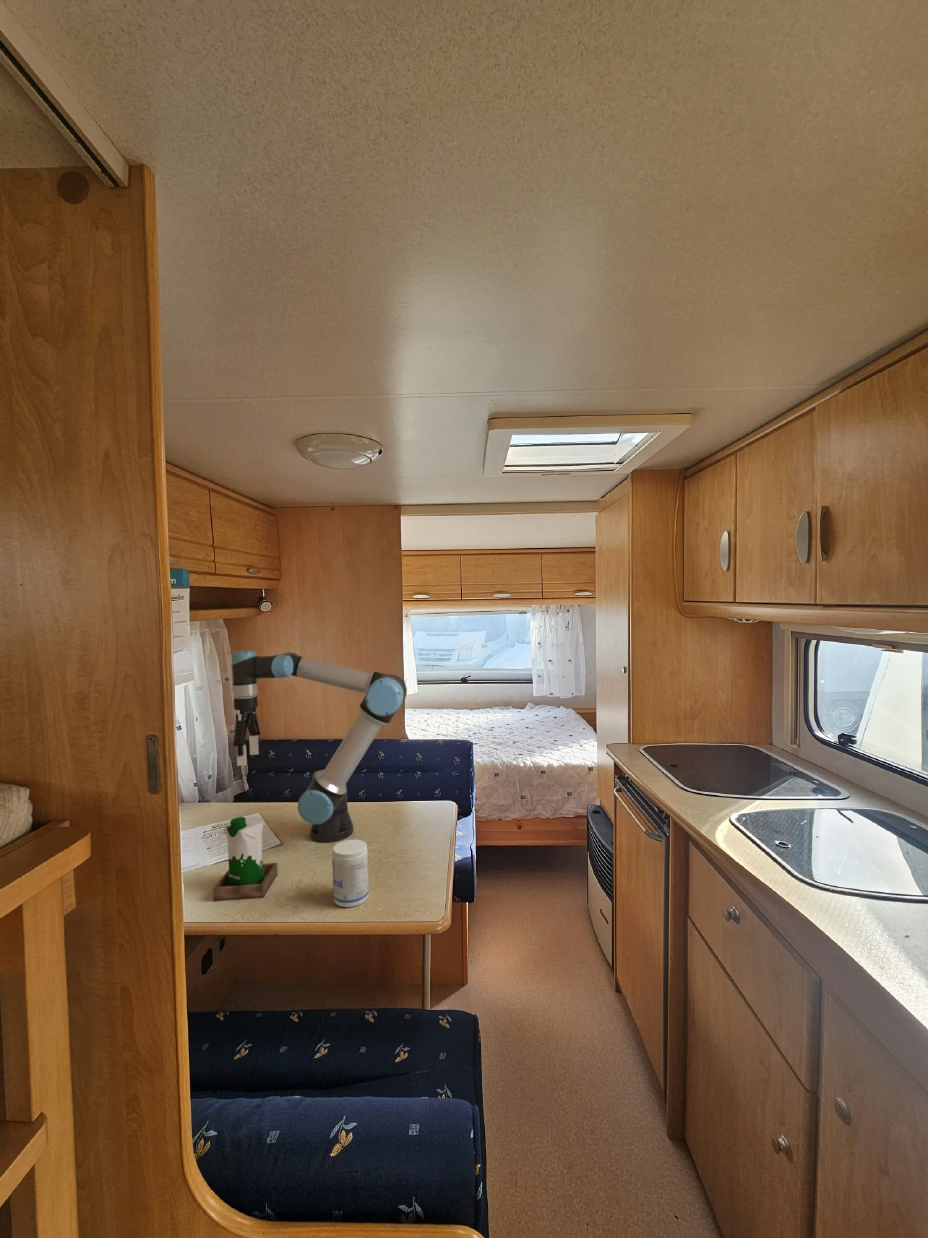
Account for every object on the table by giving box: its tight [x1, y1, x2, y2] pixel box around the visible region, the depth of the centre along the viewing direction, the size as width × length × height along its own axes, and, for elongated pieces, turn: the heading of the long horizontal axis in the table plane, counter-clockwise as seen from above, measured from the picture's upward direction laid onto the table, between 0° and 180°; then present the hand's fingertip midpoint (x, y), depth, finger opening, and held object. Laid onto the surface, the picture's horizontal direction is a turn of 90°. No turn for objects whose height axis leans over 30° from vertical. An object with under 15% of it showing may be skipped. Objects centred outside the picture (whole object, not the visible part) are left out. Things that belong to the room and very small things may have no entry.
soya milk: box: [224, 816, 265, 886], centre depth 152 cm, size 9×9×20 cm
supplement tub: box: [331, 839, 370, 908], centre depth 144 cm, size 10×10×15 cm
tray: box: [212, 862, 278, 902], centre depth 153 cm, size 14×14×4 cm
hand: (248, 759), depth 175 cm, fingers open, 13 cm apart
